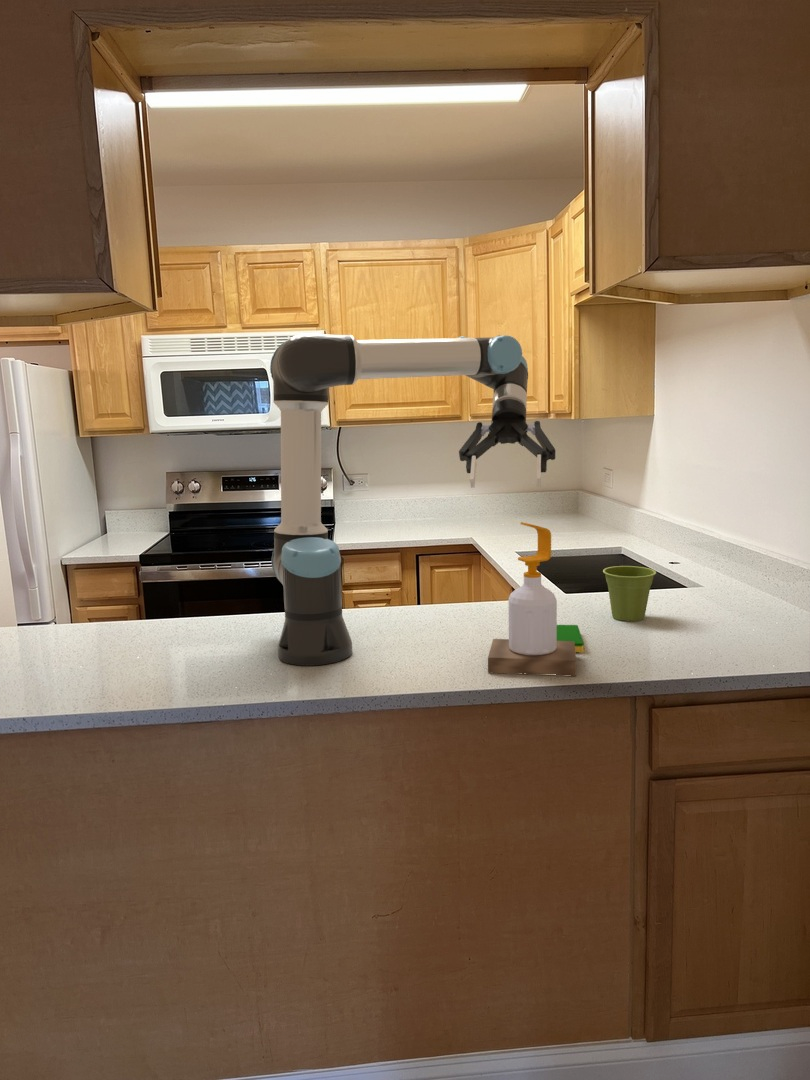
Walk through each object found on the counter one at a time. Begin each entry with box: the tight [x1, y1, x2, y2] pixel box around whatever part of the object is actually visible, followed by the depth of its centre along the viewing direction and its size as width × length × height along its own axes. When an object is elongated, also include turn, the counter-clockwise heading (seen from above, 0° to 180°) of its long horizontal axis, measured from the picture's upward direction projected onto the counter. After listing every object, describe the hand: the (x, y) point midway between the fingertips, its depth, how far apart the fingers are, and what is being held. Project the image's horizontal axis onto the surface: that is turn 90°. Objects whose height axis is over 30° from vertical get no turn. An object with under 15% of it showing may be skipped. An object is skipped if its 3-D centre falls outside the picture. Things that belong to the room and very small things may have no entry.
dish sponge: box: [557, 624, 585, 653], centre depth 157 cm, size 7×14×2 cm, turn 172°
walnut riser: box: [487, 638, 577, 677], centre depth 143 cm, size 16×12×3 cm
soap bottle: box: [508, 522, 558, 656], centre depth 141 cm, size 9×9×25 cm
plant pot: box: [602, 565, 657, 622], centre depth 173 cm, size 12×12×11 cm
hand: (505, 483), depth 154 cm, fingers open, 13 cm apart
